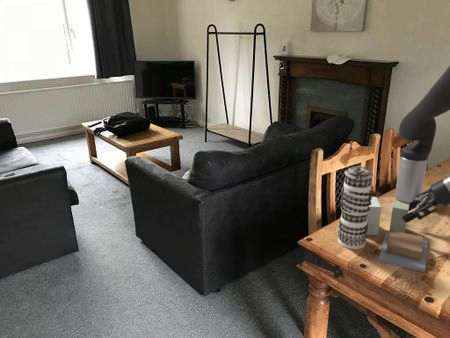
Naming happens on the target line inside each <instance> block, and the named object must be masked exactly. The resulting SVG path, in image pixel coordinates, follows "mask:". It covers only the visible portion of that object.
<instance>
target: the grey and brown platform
mask: <svg viewBox="0 0 450 338" xmlns="http://www.w3.org/2000/svg"><path fill="white" fill-rule="evenodd" d="M380 249H381V250H380V252H379V257H378V261H379V262H381V263H386V264H388V265H389V264H390V265H393V266H397V267H402V268H406V269H409V270H414V271H419V272H422V273H425V271H426V266H427V265H426V263H427V253H428V240H426V239H424V236H421V235H415V234H411V233H408V232H407V233H406V232H405V233H402V232H398V231H393V230H391V232H390V231H386V232H385V236H384V238H383V242H382V246H381V248H380Z"/></svg>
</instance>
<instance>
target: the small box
mask: <svg viewBox="0 0 450 338" xmlns="http://www.w3.org/2000/svg"><path fill="white" fill-rule="evenodd" d="M371 197H372V200H371V205H369V206H368V207H370V211H369V213H368V214H367V218H368V219H367V224H368V228H367V232H366V233H367V235H366V236H379V229H380V222H381V213H382V206H381V204H380V202H379V198H378V197H377V196H371Z"/></svg>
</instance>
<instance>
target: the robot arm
mask: <svg viewBox="0 0 450 338" xmlns="http://www.w3.org/2000/svg"><path fill="white" fill-rule="evenodd" d="M449 111H450V65H449V66H448V67H447V68H446V70H445V71H444V72H443V74H442V75H441V76H440V77H439V78H438V79H437V80H436V82H435V83H434V84H433V85H432V86H431V88H430V89H429V90H428V91H427V92H426V95H424V96H423V98H422V99H421V100H420V101H419V102H418V104H417V105H416V106H415V107H413V109H411V110H410V111H409V112H408V113H407V114H406V115H405V116H404V117H403V118H402V119H401V121H400V124H399V127H398V134H399V136H400V137H401V139H403V140H406V141H413V142H411V144H409V145H407V146H404V147H403V148H401V152H400V160H399V166H398V173H397V181H396V186H395V191H394V197H395V199H396V200H398V201H400V202H401V203H402V202H403V203H405V204H409V209H408V214H406V215H404V216H403V217H402V219H403V220H404V221H405V222H406V224H407V223H409V222H411V221H414V220H415V219H418V220H422V219H424V218H426V217H428V216H429V215H431V214H433V213H434V212H436V211H438V208H437V206H438V205H439V204H441V205H443V207H448V206H450V174H449V175H447V176H446V177H444V178H442V179H440V180H439V181H436V182H435V183H433V184H431V185H430V188H428V189H426V190H425V191H423V189H424V183H425V177H426V172H427V165H428V161H429V156H430V154H431V151H432V149H433V144H434V140H435V137H436V131H437V122H436V117H439V116H441V115H443V114H445V113H447V112H449Z"/></svg>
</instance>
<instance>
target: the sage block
mask: <svg viewBox="0 0 450 338" xmlns="http://www.w3.org/2000/svg"><path fill="white" fill-rule="evenodd" d="M408 209H409V204H408V203H406V202H403V203H402V202H398V201H394V203H393V205H392V211H391V218H390V224H389V231H388V232H389V233H390V232H391V230H393V231H398V232H402V233H406V227H407V223H406V222H405V221H404V220H403V219H402V217H403V216H404V215H406V214H408V213H409V211H408Z"/></svg>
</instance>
